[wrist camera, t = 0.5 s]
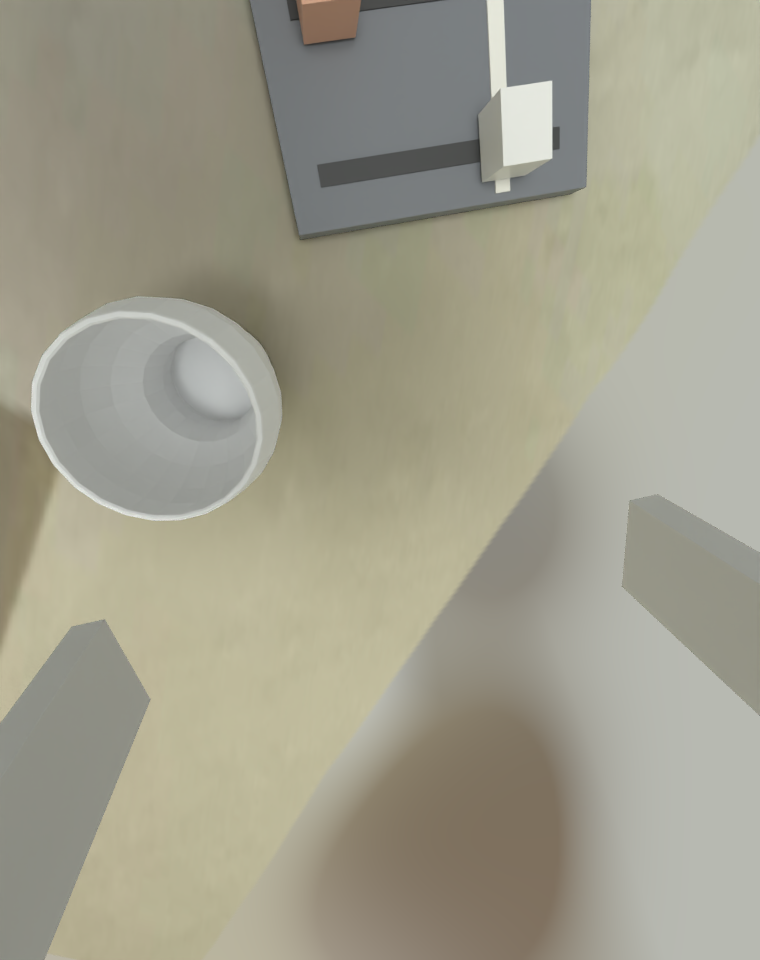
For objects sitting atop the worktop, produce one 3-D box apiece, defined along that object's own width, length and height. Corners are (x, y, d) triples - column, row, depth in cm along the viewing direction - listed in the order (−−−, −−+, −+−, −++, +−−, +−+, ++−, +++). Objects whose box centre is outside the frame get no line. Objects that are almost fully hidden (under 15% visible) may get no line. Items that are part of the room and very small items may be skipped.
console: (242, -37, 24) (235, -67, 22) (573, -79, 25) (594, -111, 24) (300, 239, 30) (299, 235, 28) (570, 194, 31) (587, 186, 29)
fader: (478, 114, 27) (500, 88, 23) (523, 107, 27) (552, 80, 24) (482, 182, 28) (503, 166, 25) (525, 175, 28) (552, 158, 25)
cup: (226, 267, 30) (148, 234, 16) (320, 390, 34) (322, 447, 20) (114, 359, 31) (-48, 401, 17) (217, 466, 35) (154, 570, 21)
